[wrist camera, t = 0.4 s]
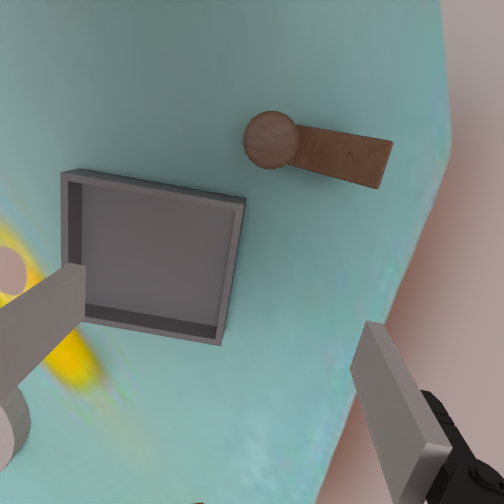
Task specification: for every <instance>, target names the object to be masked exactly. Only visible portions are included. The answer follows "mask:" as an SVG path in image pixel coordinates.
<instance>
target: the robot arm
mask: <svg viewBox="0 0 504 504" xmlns="http://www.w3.org/2000/svg"><path fill="white" fill-rule="evenodd" d="M85 289H86V266H84V265H79V264H74V263H68V264H67V265H65V266H64V267H62V268H61V269H59V270H58V271H56V272H55V273H53V274H52V275H50V276H49V277H47V278H46V279H44V280H43V281H41V282H40V283H38V284H37V285H35V286H34V287H32V288H31V289H29V290H28V291H26V292H25V293H23V294H22V295H20V296H19V297H17V298H16V299H14V300H12V301H11V302H9V303H8V304H6V305H5V306H3V307H2V308H0V403H1V402H2V401H3V400H4V399H5V398H6V397H7V396H8V395H9V394H10V393H11V392H12V391H13V390H14V389H15V388H16V387H17V386H18V384H19V383H20V382H21V381H22V380H23V379H24V378H25V377H26V376H27V375H28V374H29V373H30V372H31V371H32V370H33V369H34V368H35V367H36V366H37V365H38V364H39V363H40V362H41V361H42V360H43V359H44V358H45V357H46V356H47V355H48V354H49V353H50V352H51V351H52V350H53V349H54V348H55V347H56V346H57V345H58V344H59V343H60V342H61V341H62V340H63V339H64V338H65V337H66V336H67V335H68V334H69V333H70V332H71V331H72V330H73V329H74V328H75V327H76V326H77V325H78V324H79V323H80V322H81V321H82V320H83V319H84V318H85ZM350 372H351V375H352V378H353V381H354V384H355V387H356V390H357V393H358V396H359V400H360V402H361V406H362V409H363V412H364V415H365V418H366V421H367V424H368V427H369V430H370V433H371V437H372V439H373V443H374V446H375V449H376V452H377V455H378V458H379V461H380V464H381V467H382V471H383V473H384V477H385V480H386V483H387V486H388V489H389V492H390V495H391V498H392V501H393V504H424V502H425V500H427V503H428V504H504V479H503V477H502V476H501V475H500V474H499V473H498V472H497V471H496V470H494V469H493V468H492V467H490V466H489V465H488V464H486V463H484V462H482V461H480V460H478V459H476V458H475V456H474V455H473V453H472V451H471V450H470V448H469V447H468V445H467V443H466V442H465V440H464V438H463V437H462V435H461V434H460V432H459V430H458V429H457V427H456V426H454V422H453V421H452V419H451V417H449V416H448V415H449V414H448V413H447V411H446V409H445V408H444V406H443V404H442V403H441V402H440V401H439V400H438V399H437V398H436V397H435V396H434V395H433V394H432V393H431V392H429V391H424V390H420V389H419V387H418V386H417V384H416V382H415V380H414V379H413V377H412V375H411V373H410V372H409V370H408V368H407V366H406V364H405V363H404V361H403V359H402V357H401V356H400V354H399V352H398V350H397V349H396V347H395V345H394V343H393V341H392V340H391V338H390V336H389V334H388V333H387V331H386V329H385V327H384V326H383V324H381V323H376V322H371V321H366V323H365V326H364V329H363V332H362V334H361V337H360V340H359V343H358V346H357V349H356V352H355V355H354V357H353V360H352V363H351V366H350Z"/></svg>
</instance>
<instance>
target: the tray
mask: <svg viewBox="0 0 504 504" xmlns="http://www.w3.org/2000/svg"><path fill="white" fill-rule="evenodd" d="M245 205H246V198H241V197H235V196H229V195H224V194H218V193H213V192H207V191H202V190H196V189H190V188H185V187H179V186H174V185H168V184H163V183H157V182H151V181H146V180H140V179H135V178H129V177H123V176H118V175H112V174H107V173H101V172H96V171H90V170H84V169H75V170H70V171H64V172H61V268H62V267H64V266H65V265H67V264H68V263H74V264H79V265H84V266H86V289H85V318H84V319H83V320H82V321H81V322H87V323H93V324H98V325H104V326H110V327H115V328H121V329H127V330H132V331H138V332H144V333H149V334H155V335H161V336H166V337H172V338H177V339H183V340H189V341H194V342H200V343H206V344H211V345H217V346H221V343H222V339H223V335H224V331H225V325H226V319H227V313H228V307H229V301H230V295H231V289H232V283H233V277H234V271H235V265H236V259H237V253H238V247H239V241H240V235H241V229H242V223H243V217H244V211H245Z"/></svg>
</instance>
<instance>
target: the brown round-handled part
mask: <svg viewBox="0 0 504 504" xmlns="http://www.w3.org/2000/svg"><path fill="white" fill-rule="evenodd" d="M243 145H244V149H245V152H246V154H247V156H248V157H249V159H250V160H251V161H252V162H253V163H254V164H255V165H257V166H259V167H261V168H264V169H277V168H281V167H283V166H284V165H286V164H288V165H292V166H295V167H299V168H302V169H306V170H309V171H313V172H317V173H320V174H324V175H327V176H331V177H334V178H338V179H341V180H345V181H348V182H352V183H355V184H359V185H362V186H366V187H369V188H373V189H378V188H379V186H380V183H381V180H382V177H383V174H384V170H385V167H386V164H387V161H388V158H389V155H390V152H391V149H392V146H393V142H392V141H389V140H383V139H377V138H371V137H366V136H360V135H354V134H349V133H343V132H337V131H331V130H326V129H320V128H314V127H308V126H303V125H295V124H294V122H293V121H292V120H291V119H290V118H289V117H288V116H287V115H285V114H283V113H280V112H278V111H266V112H263V113H260V114H258V115H257V116H255V117H254V118H253V119H252V120H251V121H250V122H249V124H248V125H247V127H246V129H245V132H244V137H243Z"/></svg>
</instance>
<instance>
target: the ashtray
mask: <svg viewBox="0 0 504 504" xmlns="http://www.w3.org/2000/svg"><path fill="white" fill-rule="evenodd" d="M30 425H31V420H30V413H29V407H28V405H27V403H26V401H25V398H24V396H23V394H22V392H21V390H20V389H19V388H18V387H16V388H15V389H14V390H13V391H12V392H11V393H10V394H9V395H8V396H7V397H6V398H5V399H4V400H3V401H2V402H1V403H0V472H1V471H2V470H4V469H5V468H6V466H7V465H8V464H9V462H10V461H11V459H12V458H13V456H14V455H15V454H16V452H17V451H18V450H19V448H20V447H21V446H22V445H23V443H24V442H25V441H26V439H27V438H28V435H29V430H30Z"/></svg>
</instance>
